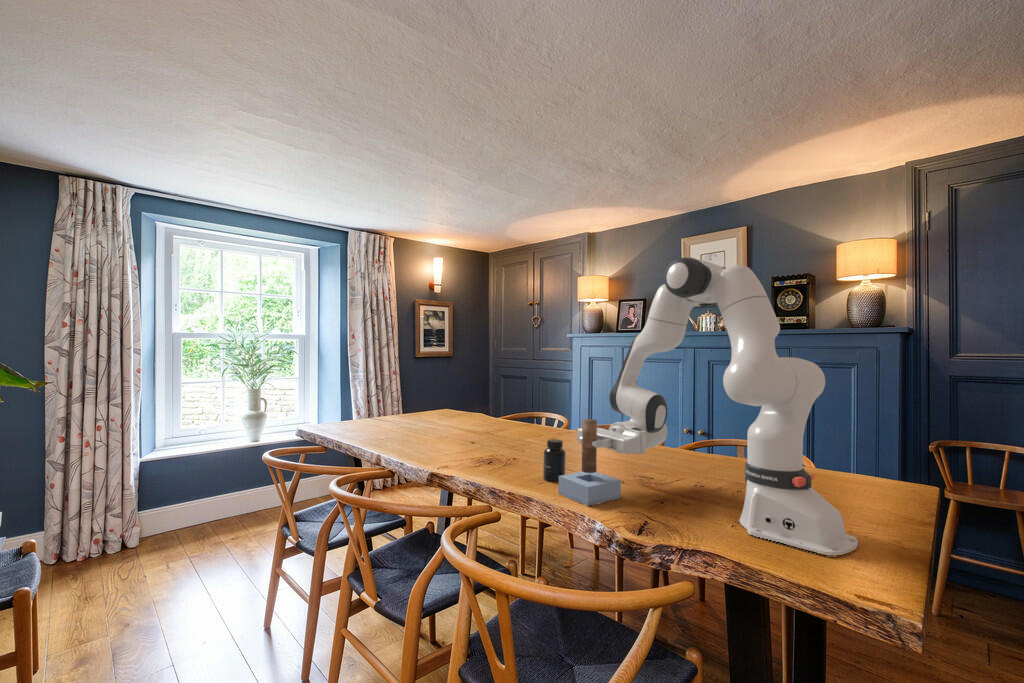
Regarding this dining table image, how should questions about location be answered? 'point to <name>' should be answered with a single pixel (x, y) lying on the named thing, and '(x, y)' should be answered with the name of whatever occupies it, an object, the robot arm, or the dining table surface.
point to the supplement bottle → (554, 460)
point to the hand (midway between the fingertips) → (586, 442)
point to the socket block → (589, 487)
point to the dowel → (589, 445)
